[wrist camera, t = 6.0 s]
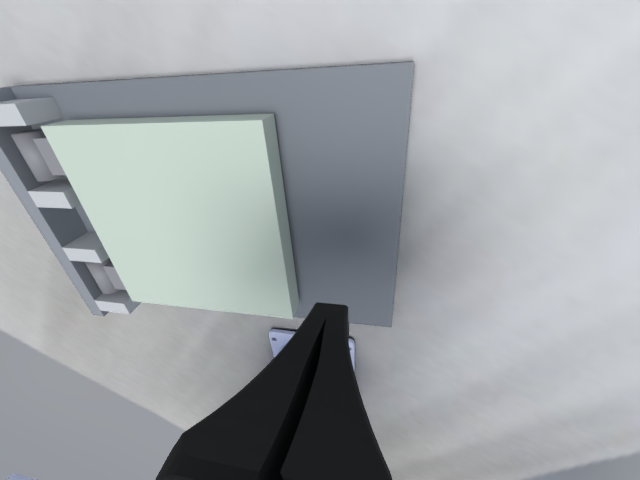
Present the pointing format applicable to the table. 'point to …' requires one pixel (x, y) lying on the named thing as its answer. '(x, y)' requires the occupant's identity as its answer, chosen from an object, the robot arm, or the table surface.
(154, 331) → the table surface
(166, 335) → the table surface
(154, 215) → the door
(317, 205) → the jig board
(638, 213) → the table surface
